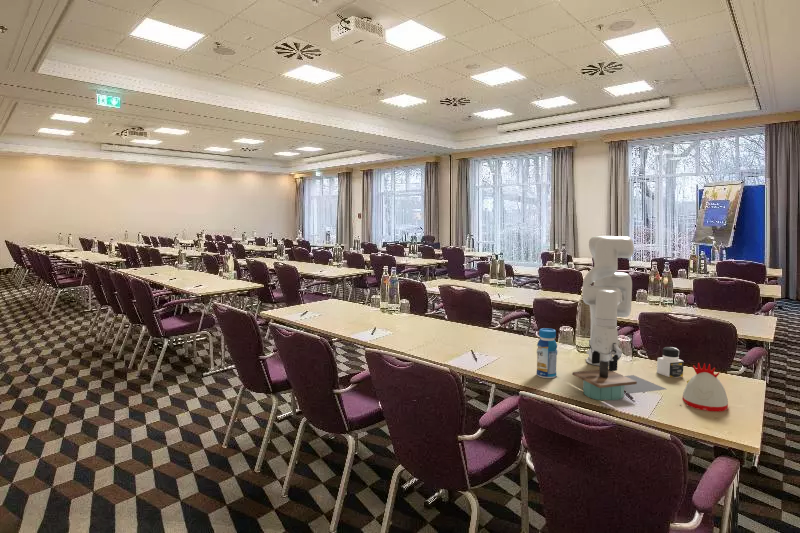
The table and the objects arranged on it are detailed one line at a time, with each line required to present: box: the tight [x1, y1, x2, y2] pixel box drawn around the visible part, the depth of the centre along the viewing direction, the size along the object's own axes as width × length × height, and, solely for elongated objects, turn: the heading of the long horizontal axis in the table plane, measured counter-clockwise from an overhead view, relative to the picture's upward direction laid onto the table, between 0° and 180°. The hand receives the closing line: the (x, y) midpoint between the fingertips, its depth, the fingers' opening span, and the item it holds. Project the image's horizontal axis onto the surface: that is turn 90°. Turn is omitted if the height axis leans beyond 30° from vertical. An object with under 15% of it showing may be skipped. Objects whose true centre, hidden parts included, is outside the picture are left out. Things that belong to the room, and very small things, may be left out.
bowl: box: [582, 380, 625, 402], centre depth 185 cm, size 14×14×6 cm
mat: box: [624, 374, 667, 394], centre depth 196 cm, size 18×18×1 cm
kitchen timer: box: [682, 362, 729, 412], centre depth 176 cm, size 14×14×15 cm
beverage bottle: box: [536, 327, 558, 379], centre depth 208 cm, size 8×8×20 cm
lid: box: [571, 360, 637, 388], centre depth 185 cm, size 16×16×7 cm
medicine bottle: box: [656, 346, 684, 379], centre depth 208 cm, size 7×7×12 cm
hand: (604, 366), depth 185 cm, fingers open, 9 cm apart
